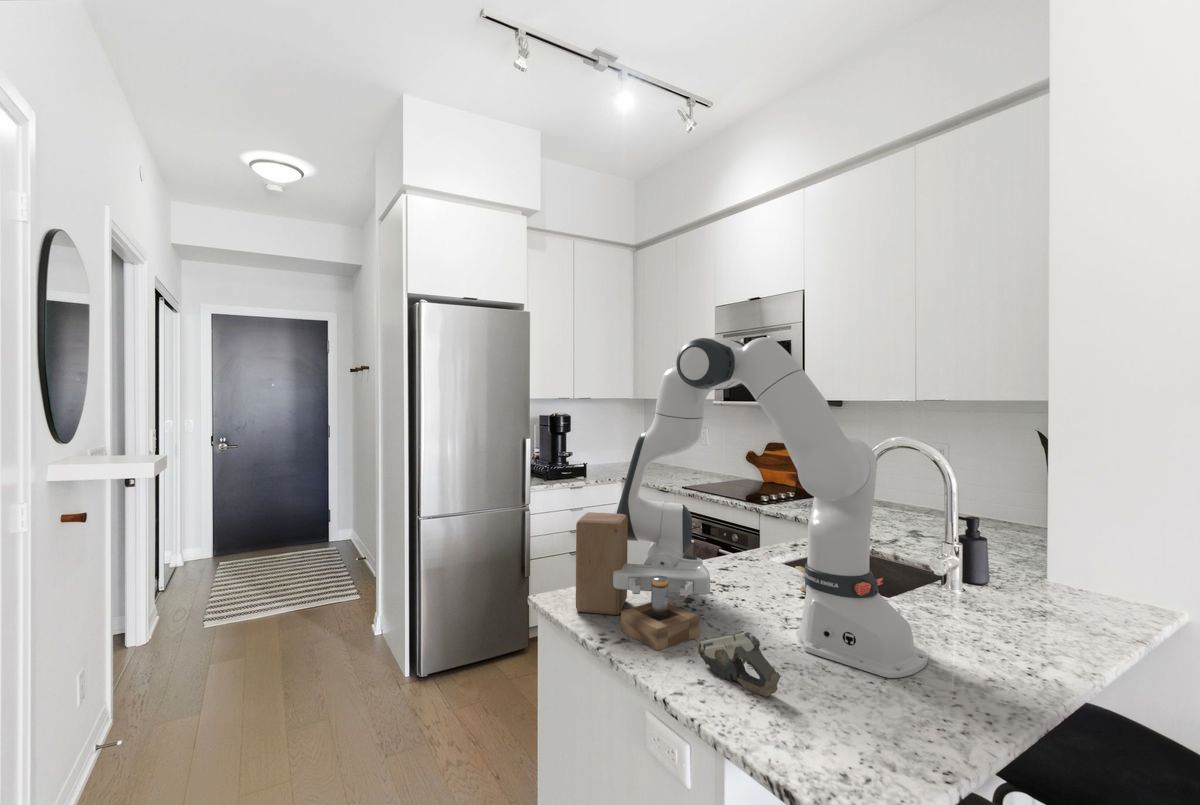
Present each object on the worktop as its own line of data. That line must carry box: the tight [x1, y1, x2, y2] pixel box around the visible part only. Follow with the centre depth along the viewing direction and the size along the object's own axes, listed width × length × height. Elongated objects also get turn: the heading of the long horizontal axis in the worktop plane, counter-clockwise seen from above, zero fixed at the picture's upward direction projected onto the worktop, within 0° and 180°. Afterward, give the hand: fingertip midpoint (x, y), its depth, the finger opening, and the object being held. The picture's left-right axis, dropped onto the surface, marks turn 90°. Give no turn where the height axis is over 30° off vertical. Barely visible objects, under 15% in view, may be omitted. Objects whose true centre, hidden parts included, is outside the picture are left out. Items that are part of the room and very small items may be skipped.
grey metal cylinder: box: [650, 576, 669, 621], centre depth 114 cm, size 3×3×11 cm
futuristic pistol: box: [697, 630, 781, 697], centre depth 96 cm, size 2×15×10 cm, turn 39°
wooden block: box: [575, 511, 628, 616], centre depth 128 cm, size 10×10×20 cm
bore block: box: [620, 602, 700, 651], centre depth 114 cm, size 11×11×4 cm
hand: (659, 591), depth 114 cm, fingers open, 8 cm apart
